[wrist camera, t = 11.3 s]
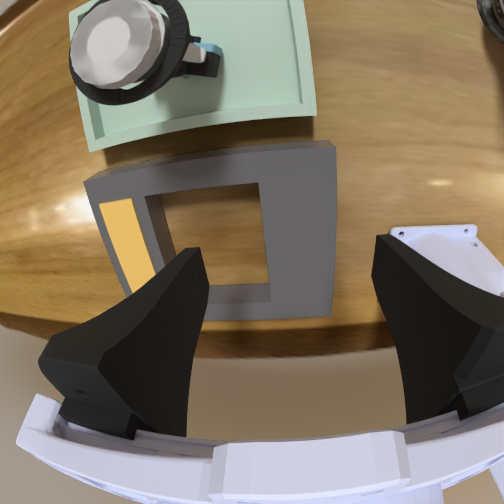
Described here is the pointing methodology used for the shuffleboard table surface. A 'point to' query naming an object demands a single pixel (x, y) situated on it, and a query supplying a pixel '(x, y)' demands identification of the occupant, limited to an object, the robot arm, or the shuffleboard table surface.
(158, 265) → the panel
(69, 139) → the shuffleboard table surface
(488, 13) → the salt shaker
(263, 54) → the parts tray
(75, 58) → the push button
